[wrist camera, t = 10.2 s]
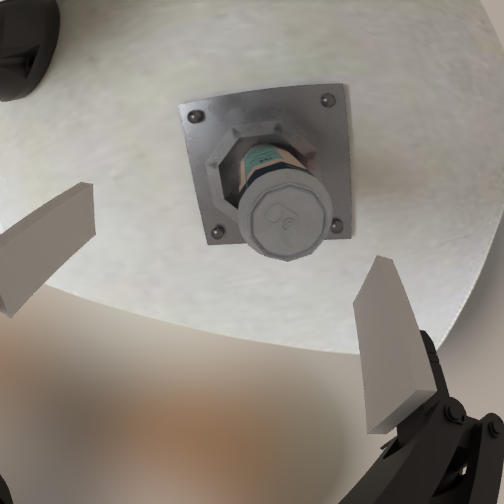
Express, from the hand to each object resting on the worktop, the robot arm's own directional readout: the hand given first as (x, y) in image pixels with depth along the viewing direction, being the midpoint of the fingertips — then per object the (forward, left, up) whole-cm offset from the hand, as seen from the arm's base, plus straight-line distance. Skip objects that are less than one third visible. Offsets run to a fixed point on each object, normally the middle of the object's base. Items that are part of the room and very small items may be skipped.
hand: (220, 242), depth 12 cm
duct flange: (0, 0, -15) cm, 15 cm away
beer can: (0, 0, -14) cm, 14 cm away
